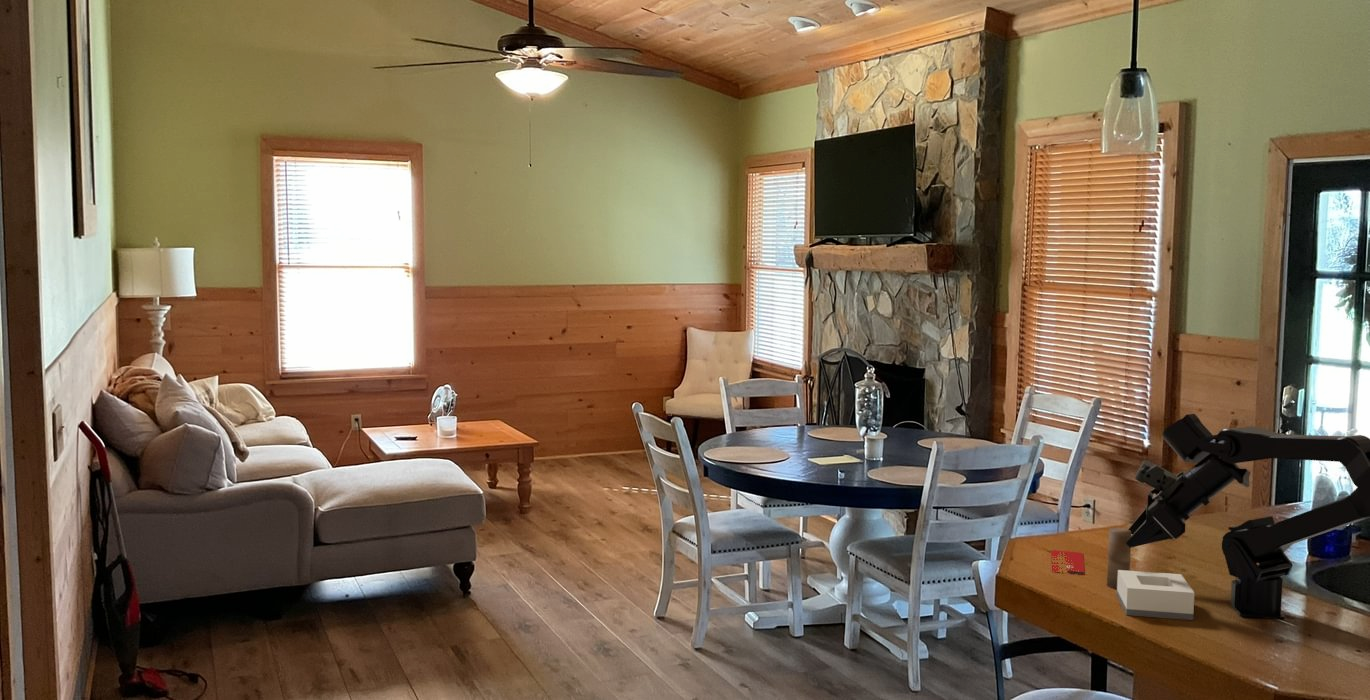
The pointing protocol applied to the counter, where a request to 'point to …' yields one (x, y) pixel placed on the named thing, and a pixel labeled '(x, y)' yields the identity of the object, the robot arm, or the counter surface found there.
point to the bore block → (1155, 594)
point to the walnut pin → (1117, 554)
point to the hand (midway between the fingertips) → (1128, 538)
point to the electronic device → (1076, 560)
